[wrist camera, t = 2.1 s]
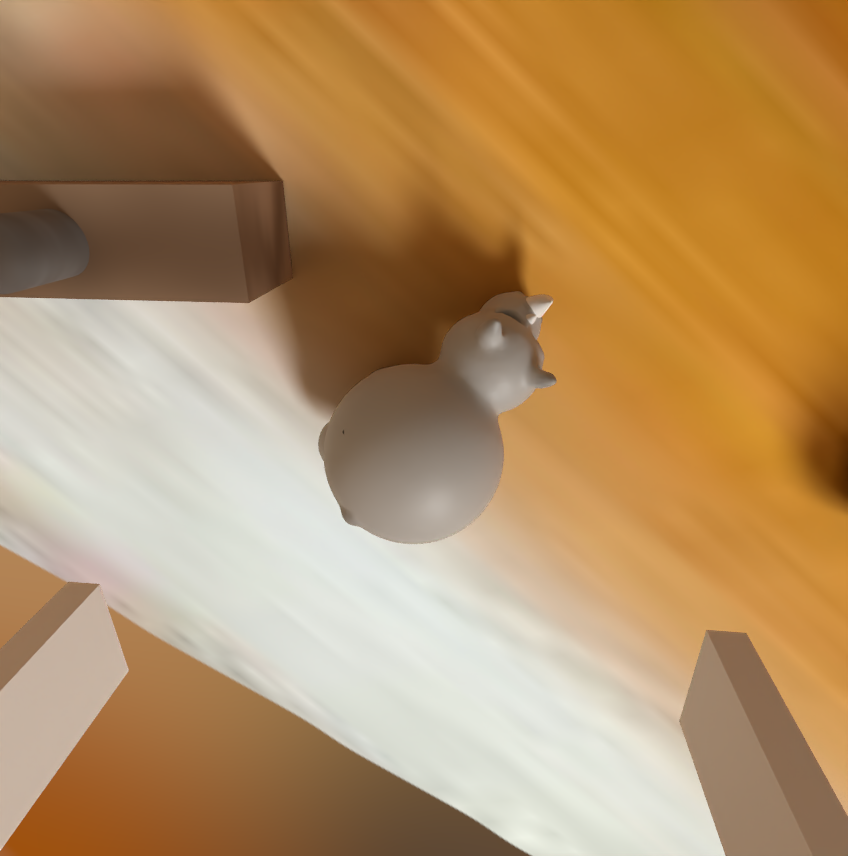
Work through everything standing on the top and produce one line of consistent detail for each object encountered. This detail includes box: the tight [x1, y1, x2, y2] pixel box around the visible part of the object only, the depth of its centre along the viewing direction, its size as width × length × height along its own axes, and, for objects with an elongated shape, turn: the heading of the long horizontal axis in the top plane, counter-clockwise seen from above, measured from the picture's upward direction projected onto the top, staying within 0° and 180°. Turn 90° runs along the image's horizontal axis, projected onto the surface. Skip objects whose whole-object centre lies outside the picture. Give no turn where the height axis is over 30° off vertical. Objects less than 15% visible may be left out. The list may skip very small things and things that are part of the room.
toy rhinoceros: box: [318, 291, 556, 544], centre depth 23 cm, size 7×12×8 cm, turn 136°
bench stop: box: [0, 181, 293, 303], centre depth 21 cm, size 4×14×8 cm, turn 90°
